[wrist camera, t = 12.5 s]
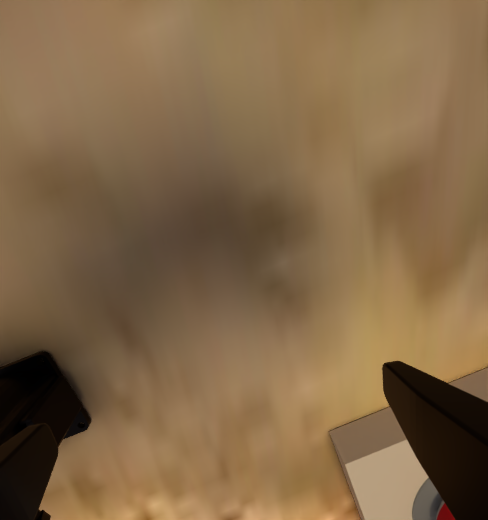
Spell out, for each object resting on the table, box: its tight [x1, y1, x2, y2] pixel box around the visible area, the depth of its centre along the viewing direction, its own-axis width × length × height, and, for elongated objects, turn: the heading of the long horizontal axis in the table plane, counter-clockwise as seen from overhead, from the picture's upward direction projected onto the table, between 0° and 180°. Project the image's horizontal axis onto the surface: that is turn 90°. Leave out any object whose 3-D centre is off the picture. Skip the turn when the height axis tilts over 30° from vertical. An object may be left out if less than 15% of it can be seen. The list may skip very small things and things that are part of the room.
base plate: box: [329, 368, 488, 520], centre depth 25 cm, size 16×16×3 cm
